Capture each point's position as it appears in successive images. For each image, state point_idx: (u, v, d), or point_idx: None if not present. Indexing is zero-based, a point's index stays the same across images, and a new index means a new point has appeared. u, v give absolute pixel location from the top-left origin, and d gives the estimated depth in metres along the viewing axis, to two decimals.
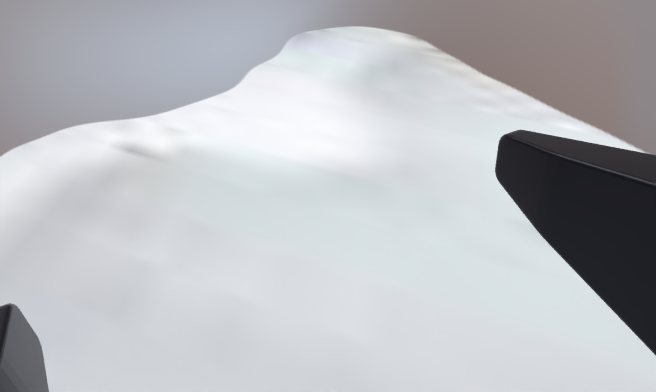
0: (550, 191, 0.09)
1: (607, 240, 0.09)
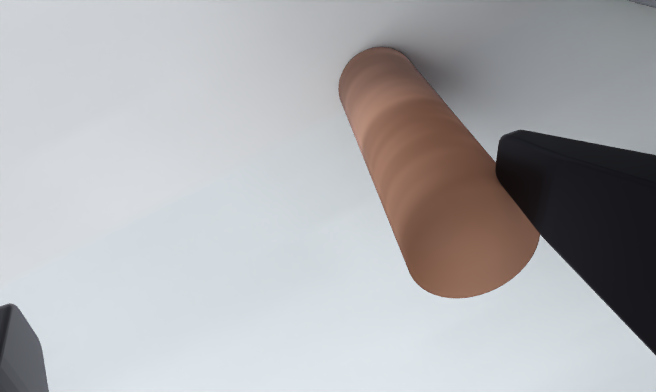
0: (550, 191, 0.09)
1: (607, 240, 0.09)
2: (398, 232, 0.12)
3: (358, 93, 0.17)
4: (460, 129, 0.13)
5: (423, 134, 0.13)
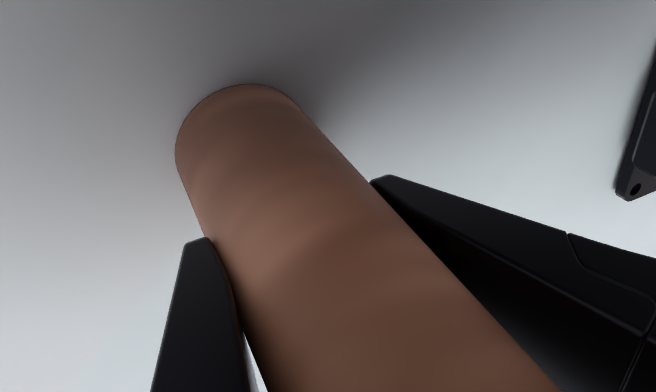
0: None
1: None
2: None
3: (207, 223, 0.09)
4: (434, 329, 0.05)
5: None
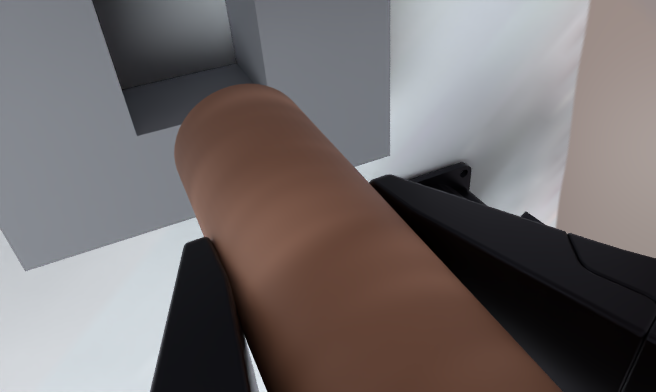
0: None
1: None
2: None
3: (206, 223, 0.09)
4: (433, 329, 0.05)
5: None
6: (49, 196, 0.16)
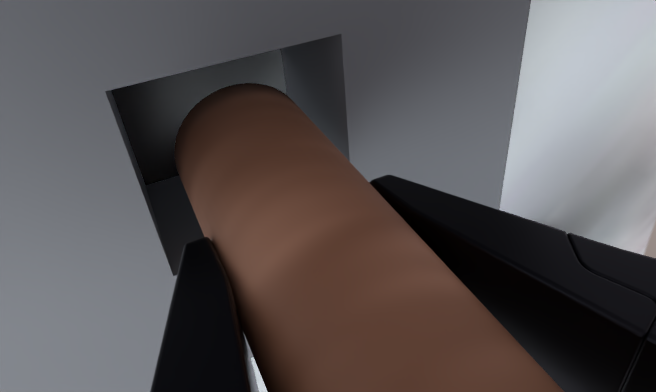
0: None
1: None
2: None
3: (206, 223, 0.09)
4: (434, 328, 0.05)
5: None
6: (49, 364, 0.11)
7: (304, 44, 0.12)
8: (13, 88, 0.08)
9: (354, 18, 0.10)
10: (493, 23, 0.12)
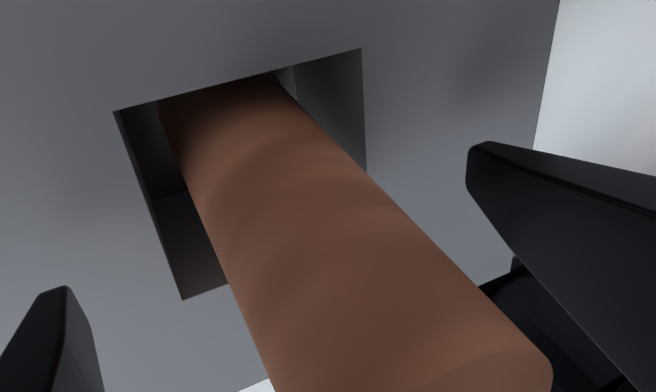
0: (517, 204, 0.09)
1: (573, 255, 0.08)
2: None
3: (179, 152, 0.11)
4: (337, 196, 0.07)
5: (278, 243, 0.07)
6: None
7: None
8: (14, 109, 0.08)
9: (375, 31, 0.10)
10: (519, 35, 0.11)
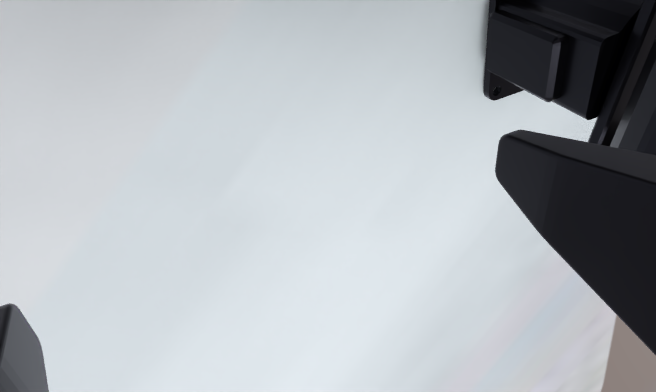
0: (550, 191, 0.09)
1: (607, 240, 0.09)
2: None
3: None
4: None
5: None
6: None
7: None
8: None
9: None
10: None
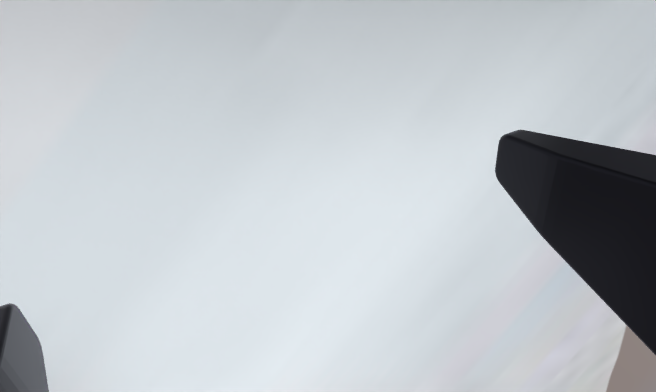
0: (550, 191, 0.09)
1: (607, 240, 0.09)
2: None
3: None
4: None
5: None
6: None
7: None
8: None
9: None
10: None
